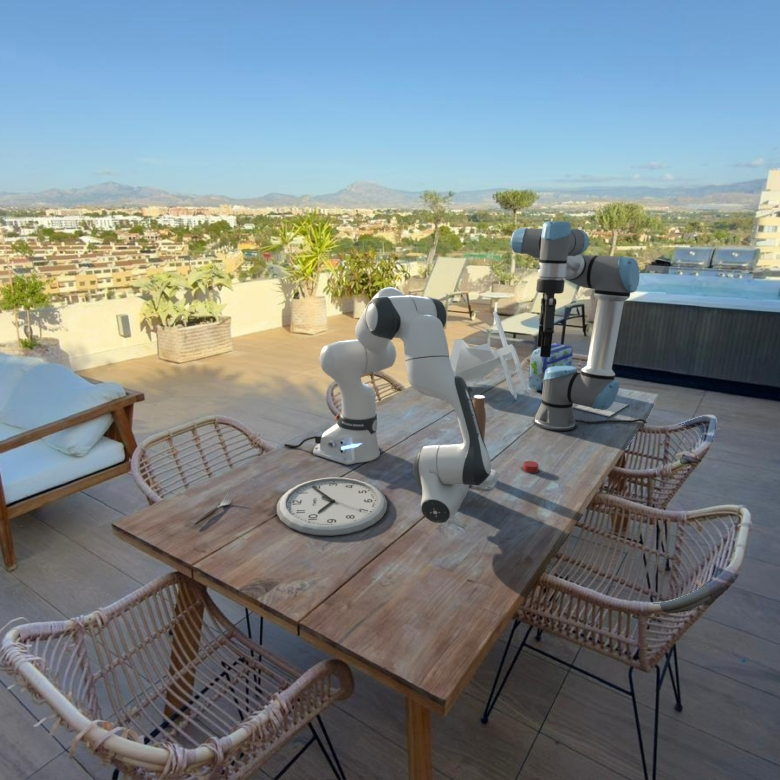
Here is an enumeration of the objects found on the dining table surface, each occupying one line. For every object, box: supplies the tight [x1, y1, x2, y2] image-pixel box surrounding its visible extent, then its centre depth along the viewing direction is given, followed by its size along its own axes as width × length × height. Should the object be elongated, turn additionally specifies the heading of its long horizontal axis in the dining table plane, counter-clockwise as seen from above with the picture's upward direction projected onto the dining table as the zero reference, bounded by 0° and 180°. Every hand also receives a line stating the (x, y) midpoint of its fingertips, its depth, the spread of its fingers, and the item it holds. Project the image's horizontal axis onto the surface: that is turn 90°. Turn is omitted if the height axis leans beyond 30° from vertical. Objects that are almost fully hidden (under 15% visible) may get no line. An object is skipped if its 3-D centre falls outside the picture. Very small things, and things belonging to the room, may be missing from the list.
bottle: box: [472, 394, 487, 441], centre depth 158 cm, size 5×5×26 cm
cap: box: [523, 460, 539, 474], centre depth 166 cm, size 4×4×2 cm
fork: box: [193, 490, 237, 526], centre depth 138 cm, size 3×16×2 cm, turn 160°
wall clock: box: [276, 476, 388, 537], centre depth 142 cm, size 30×2×30 cm
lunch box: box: [528, 343, 574, 392], centre depth 249 cm, size 26×11×21 cm, turn 134°
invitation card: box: [573, 401, 629, 418], centre depth 226 cm, size 21×1×15 cm
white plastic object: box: [449, 310, 531, 400], centre depth 245 cm, size 37×45×31 cm
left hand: (466, 462), depth 149 cm, fingers open, 8 cm apart
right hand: (543, 351), depth 154 cm, fingers open, 13 cm apart
